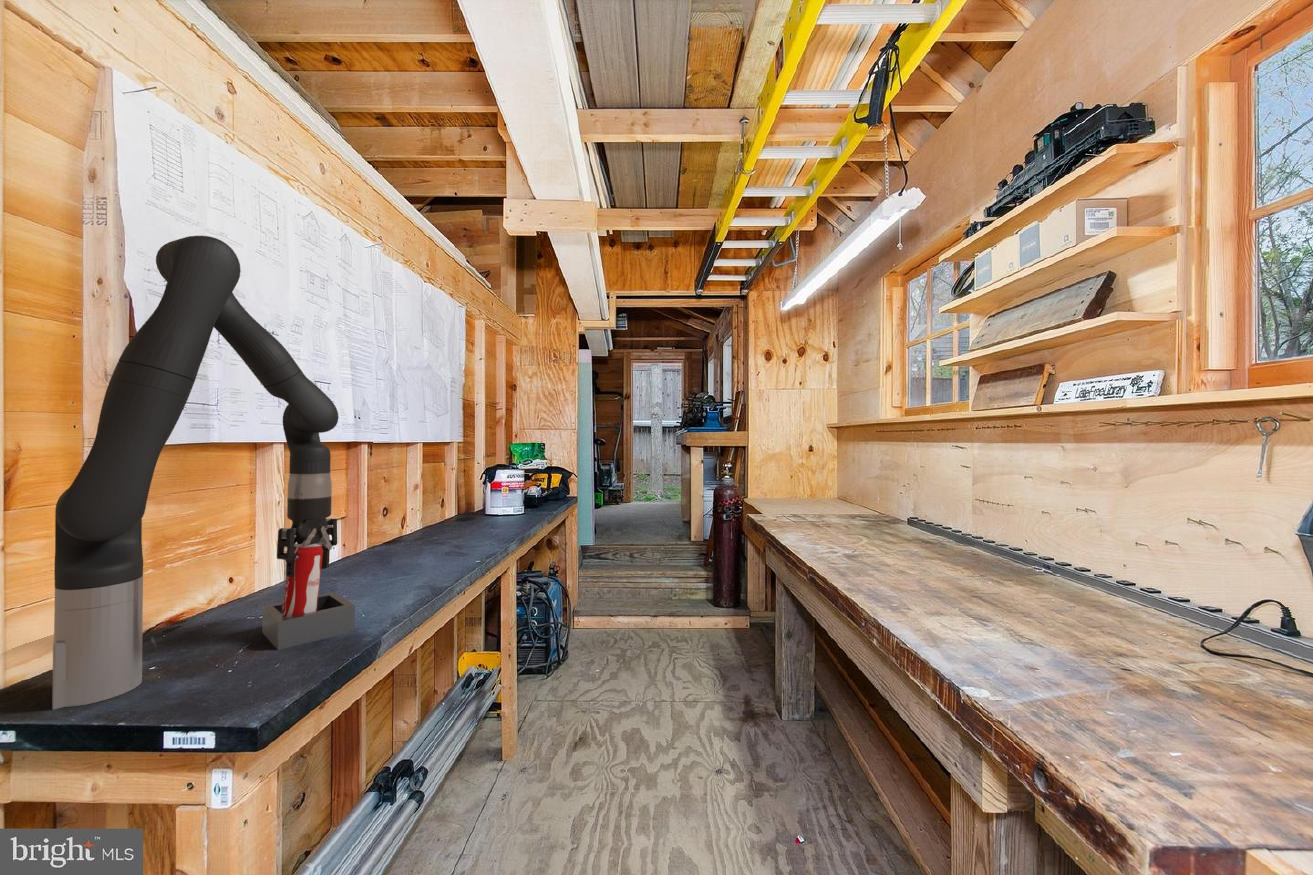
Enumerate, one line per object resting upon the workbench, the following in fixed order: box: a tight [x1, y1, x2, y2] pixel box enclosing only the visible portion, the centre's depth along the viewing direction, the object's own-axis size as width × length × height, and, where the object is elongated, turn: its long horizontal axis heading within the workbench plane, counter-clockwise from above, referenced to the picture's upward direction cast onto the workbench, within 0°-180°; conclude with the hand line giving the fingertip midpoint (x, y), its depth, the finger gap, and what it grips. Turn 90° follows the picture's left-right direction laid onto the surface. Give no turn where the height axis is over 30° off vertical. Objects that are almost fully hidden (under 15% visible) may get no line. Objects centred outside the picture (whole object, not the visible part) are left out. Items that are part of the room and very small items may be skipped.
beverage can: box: [282, 543, 323, 618], centre depth 101 cm, size 6×6×15 cm
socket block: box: [261, 591, 356, 651], centre depth 104 cm, size 13×13×6 cm
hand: (308, 573), depth 104 cm, fingers open, 8 cm apart
